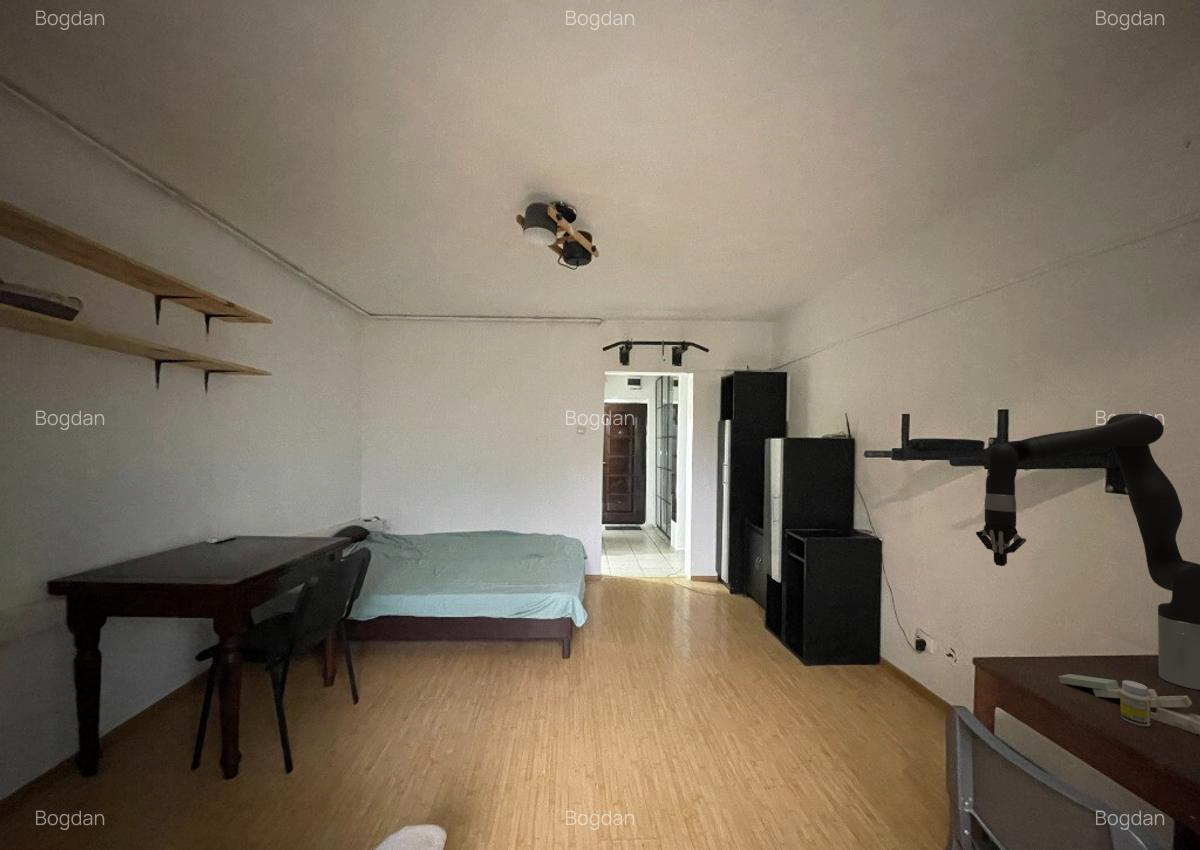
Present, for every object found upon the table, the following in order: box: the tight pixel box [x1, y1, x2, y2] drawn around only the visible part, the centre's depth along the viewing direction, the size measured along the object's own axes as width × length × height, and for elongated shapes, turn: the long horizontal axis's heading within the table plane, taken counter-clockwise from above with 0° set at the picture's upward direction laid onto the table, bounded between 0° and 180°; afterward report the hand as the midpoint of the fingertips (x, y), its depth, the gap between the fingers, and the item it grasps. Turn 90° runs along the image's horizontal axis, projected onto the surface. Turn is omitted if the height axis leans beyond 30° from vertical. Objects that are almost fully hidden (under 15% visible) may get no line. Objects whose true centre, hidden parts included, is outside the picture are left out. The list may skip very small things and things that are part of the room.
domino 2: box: [1092, 687, 1158, 699], centre depth 120 cm, size 5×2×10 cm
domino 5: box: [1156, 707, 1200, 731], centre depth 109 cm, size 5×2×10 cm
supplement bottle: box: [1119, 680, 1152, 727], centre depth 112 cm, size 5×5×8 cm
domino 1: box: [1058, 673, 1120, 690], centre depth 127 cm, size 5×2×10 cm
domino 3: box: [1150, 695, 1193, 708], centre depth 115 cm, size 5×2×10 cm
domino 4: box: [1150, 707, 1200, 736], centre depth 112 cm, size 5×2×10 cm
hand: (1000, 565), depth 148 cm, fingers closed
